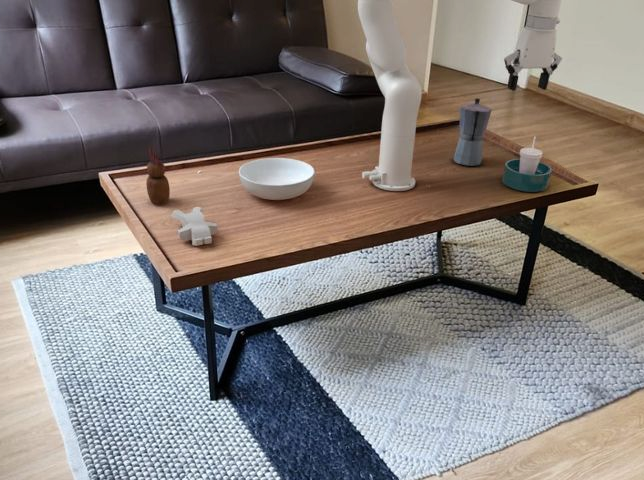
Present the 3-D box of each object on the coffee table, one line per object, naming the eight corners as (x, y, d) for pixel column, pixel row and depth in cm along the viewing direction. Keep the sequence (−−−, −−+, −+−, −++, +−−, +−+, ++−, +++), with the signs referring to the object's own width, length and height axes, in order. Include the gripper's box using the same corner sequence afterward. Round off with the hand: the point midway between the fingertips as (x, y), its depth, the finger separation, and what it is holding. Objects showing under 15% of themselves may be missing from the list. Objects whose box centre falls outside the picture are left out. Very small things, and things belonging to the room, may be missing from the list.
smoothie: (538, 181, 192) (548, 136, 184) (532, 188, 187) (542, 142, 180) (517, 176, 195) (526, 131, 187) (510, 183, 190) (520, 137, 182)
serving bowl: (322, 184, 187) (323, 161, 183) (301, 213, 169) (301, 189, 166) (255, 175, 191) (254, 153, 187) (227, 203, 174) (226, 179, 170)
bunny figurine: (183, 236, 148) (166, 204, 158) (184, 254, 151) (168, 222, 161) (222, 229, 151) (204, 198, 162) (223, 247, 155) (204, 216, 165)
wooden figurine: (146, 198, 175) (140, 145, 167) (168, 195, 177) (162, 142, 169) (150, 208, 170) (143, 153, 162) (172, 205, 171) (167, 151, 163)
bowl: (517, 195, 184) (521, 177, 181) (493, 178, 195) (496, 160, 192) (556, 190, 188) (561, 173, 185) (531, 174, 198) (534, 157, 195)
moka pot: (480, 155, 211) (490, 93, 201) (485, 172, 198) (497, 108, 188) (451, 153, 212) (459, 92, 201) (454, 170, 199) (464, 106, 188)
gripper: (560, 20, 174) (545, 84, 183) (504, 20, 170) (492, 86, 179) (577, 25, 168) (561, 91, 177) (520, 25, 164) (506, 93, 173)
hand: (526, 89), depth 178 cm, fingers open, 9 cm apart
